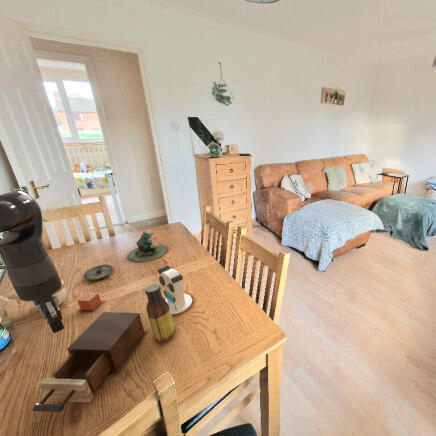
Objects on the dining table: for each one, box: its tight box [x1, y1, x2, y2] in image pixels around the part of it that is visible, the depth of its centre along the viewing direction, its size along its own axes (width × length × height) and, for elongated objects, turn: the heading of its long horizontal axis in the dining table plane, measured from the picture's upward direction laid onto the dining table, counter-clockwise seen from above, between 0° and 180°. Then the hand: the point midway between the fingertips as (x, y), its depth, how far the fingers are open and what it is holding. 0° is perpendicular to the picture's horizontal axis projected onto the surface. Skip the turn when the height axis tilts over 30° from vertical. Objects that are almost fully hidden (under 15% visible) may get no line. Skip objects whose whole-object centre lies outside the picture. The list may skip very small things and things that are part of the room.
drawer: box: [31, 351, 113, 413], centre depth 62 cm, size 17×10×7 cm, turn 0°
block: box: [77, 292, 102, 311], centre depth 90 cm, size 4×4×4 cm
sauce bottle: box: [144, 283, 176, 343], centre depth 76 cm, size 6×6×20 cm
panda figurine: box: [157, 264, 193, 315], centre depth 91 cm, size 12×11×15 cm
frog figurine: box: [127, 231, 168, 262], centre depth 126 cm, size 18×18×12 cm
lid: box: [83, 264, 114, 282], centre depth 107 cm, size 11×10×5 cm
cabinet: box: [66, 311, 145, 372], centre depth 73 cm, size 14×12×9 cm
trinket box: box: [26, 279, 67, 310], centre depth 89 cm, size 11×11×9 cm
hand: (58, 329), depth 63 cm, fingers closed
